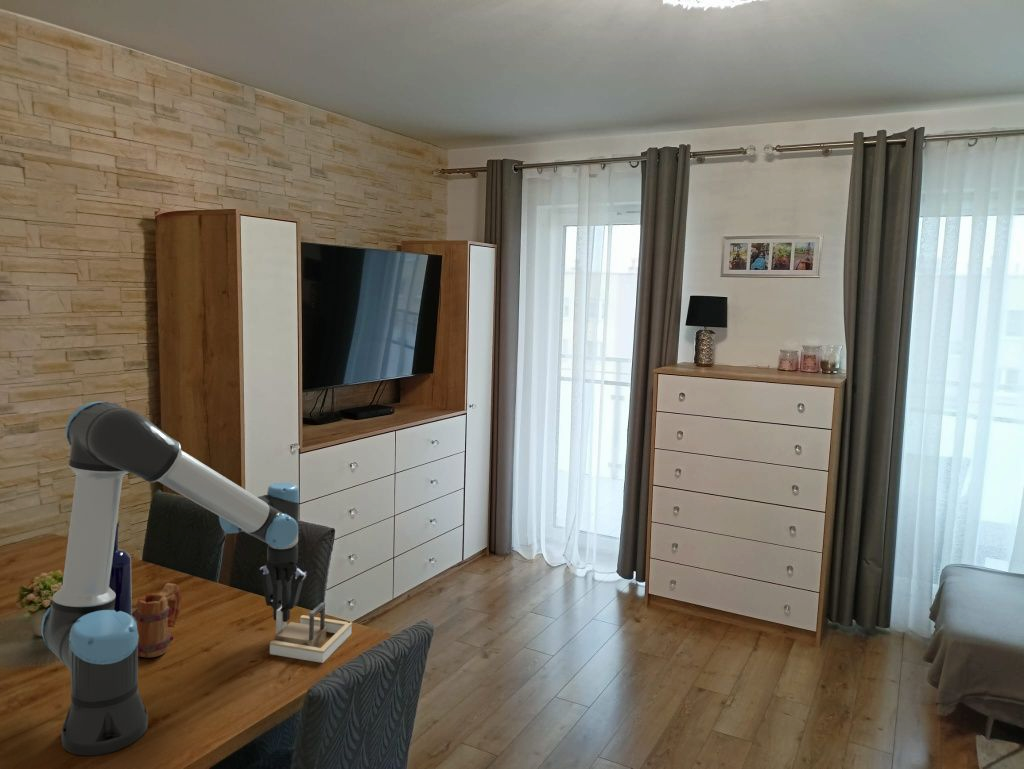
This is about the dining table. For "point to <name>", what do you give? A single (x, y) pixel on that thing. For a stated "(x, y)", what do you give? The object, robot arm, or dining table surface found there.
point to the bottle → (121, 578)
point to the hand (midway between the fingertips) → (281, 632)
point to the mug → (157, 620)
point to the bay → (314, 653)
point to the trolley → (305, 630)
